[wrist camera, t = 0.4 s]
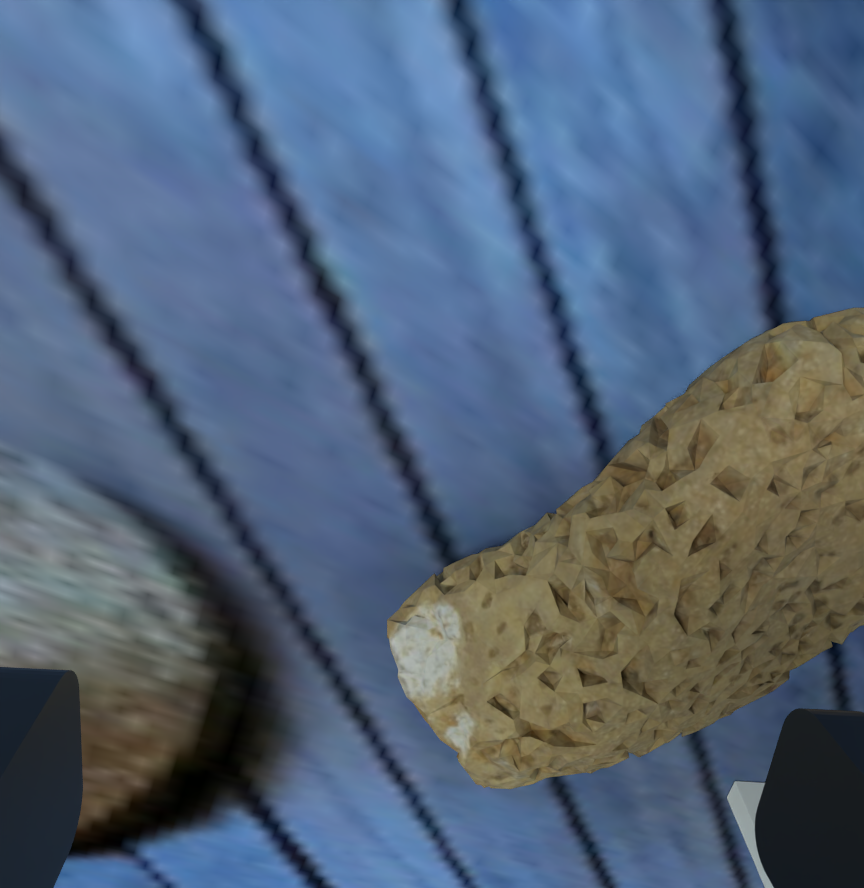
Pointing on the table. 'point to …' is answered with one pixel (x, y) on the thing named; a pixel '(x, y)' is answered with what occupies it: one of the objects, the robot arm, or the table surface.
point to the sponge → (659, 573)
